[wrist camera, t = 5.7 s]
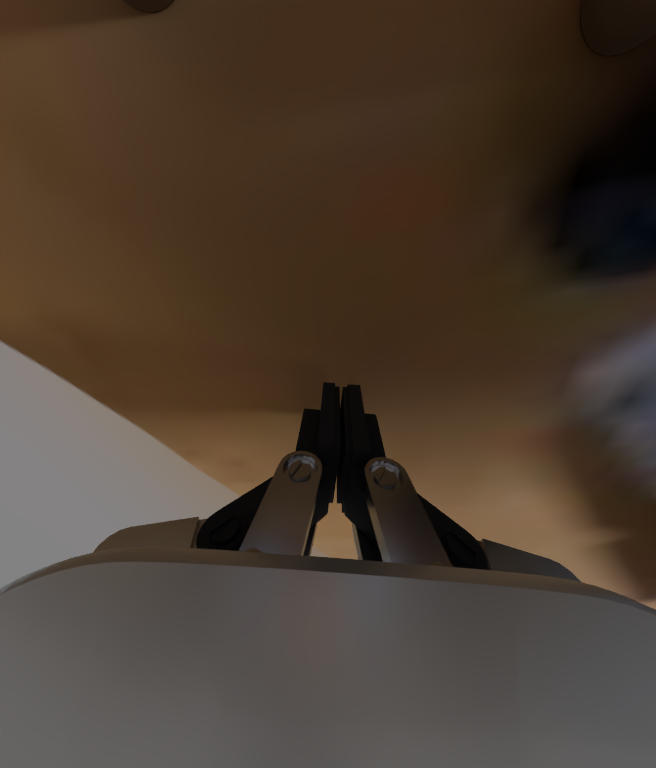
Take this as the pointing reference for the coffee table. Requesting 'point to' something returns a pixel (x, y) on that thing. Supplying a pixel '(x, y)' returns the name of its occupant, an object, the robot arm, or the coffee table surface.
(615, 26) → the post
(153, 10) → the post
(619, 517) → the coffee table surface
